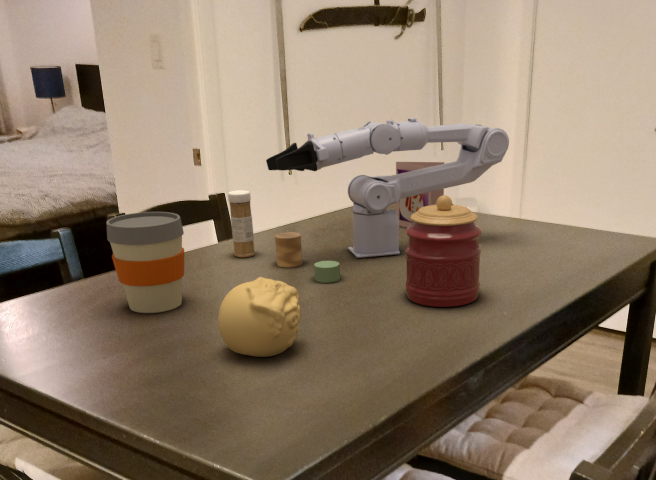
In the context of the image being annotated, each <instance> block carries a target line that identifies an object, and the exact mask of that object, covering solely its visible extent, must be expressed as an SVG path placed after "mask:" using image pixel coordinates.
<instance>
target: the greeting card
mask: <svg viewBox="0 0 656 480" xmlns="http://www.w3.org/2000/svg"><path fill="white" fill-rule="evenodd" d="M442 164H445V161H395V175H396V174H401V173H405V172H410V171H414V170H419V169H423V168H428V167H432V166H437V165H442ZM444 192H445V189H440V190H436V191H432V192H427V193H423V194H419V195H414V196H410V197H406V198H401V199H400V200H399V202H398V203H396V204H395V211H396V212H397V215H398V220H399V227H402V228H403V227H404V228H406V229H407V228H408V227H409V226H410V225H412V223H413V221H412V220H411V215H412V214H414V213H415V212H417V211H418V210H419V209H420V208H422V207H425V206H430V205H436V202H437V199H438V198H439V197H440V196H443V195H444Z"/></svg>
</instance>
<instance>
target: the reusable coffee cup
mask: <svg viewBox="0 0 656 480" xmlns="http://www.w3.org/2000/svg"><path fill="white" fill-rule="evenodd" d="M184 232H185V231H184V227H183V223H182V219H181V216H180V215H179V214H178V213H175V212H168V211H143V212H134V213H127V214H126V213H125V214H122V215H118V216H114V217H112V218H109V219H108V220H106V237H107V238H106V239H107V241H108V242H109V243H110V247H111V250H112V254H111V260H112V262H113V266H114V269H115V272H116V275H117V279H118V282H119V283H120V284H122V287H123V291H124V293H125V298H126V300H127V301H126V302H127V303H128V306H129V309H130V310H131V311H132V312H135V313H141V314H156V313H163V312H168V311H171V310H175V309H176V308H178V307H180V306H181V305H182V302H183V288H182V287H183V277H184V276H185V248H184V247H183V235H184V234H185V233H184Z"/></svg>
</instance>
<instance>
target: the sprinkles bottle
mask: <svg viewBox="0 0 656 480" xmlns="http://www.w3.org/2000/svg"><path fill="white" fill-rule="evenodd" d="M227 200H228V202H229V209H230V224H231V225H230V226H231V235H232V241H233V242H232V243H233V255H234V256H235V257H236V258H250V257H253V256H255V254H256V251H255V243H254V239H255V237H254V225H253V216H252V208H251V201H252V198H251V192H250V191H249V190H245V189H239V190H238V189H237V190H232V191H229V192H228V193H227Z"/></svg>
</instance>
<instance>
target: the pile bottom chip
mask: <svg viewBox="0 0 656 480" xmlns="http://www.w3.org/2000/svg"><path fill="white" fill-rule="evenodd" d="M302 250H303V249H301V250H300V251H298V252H293V253H281V252H277V251H276V250H275V257H276V266H278V267H280V268H286V269H287V268H297V267H300V266H302V265H303V251H302Z"/></svg>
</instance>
